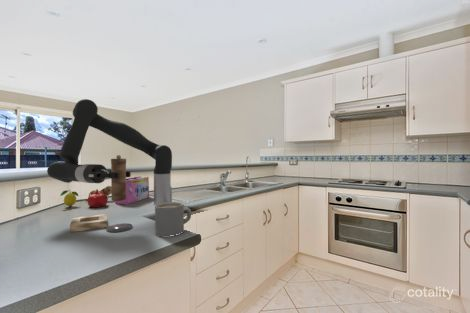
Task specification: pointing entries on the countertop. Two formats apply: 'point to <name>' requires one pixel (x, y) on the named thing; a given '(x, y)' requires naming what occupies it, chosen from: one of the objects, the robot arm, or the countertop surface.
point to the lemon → (69, 198)
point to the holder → (88, 222)
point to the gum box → (135, 190)
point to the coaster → (119, 227)
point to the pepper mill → (118, 184)
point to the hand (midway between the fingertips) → (124, 174)
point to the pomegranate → (97, 199)
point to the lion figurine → (106, 190)
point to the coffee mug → (170, 218)
